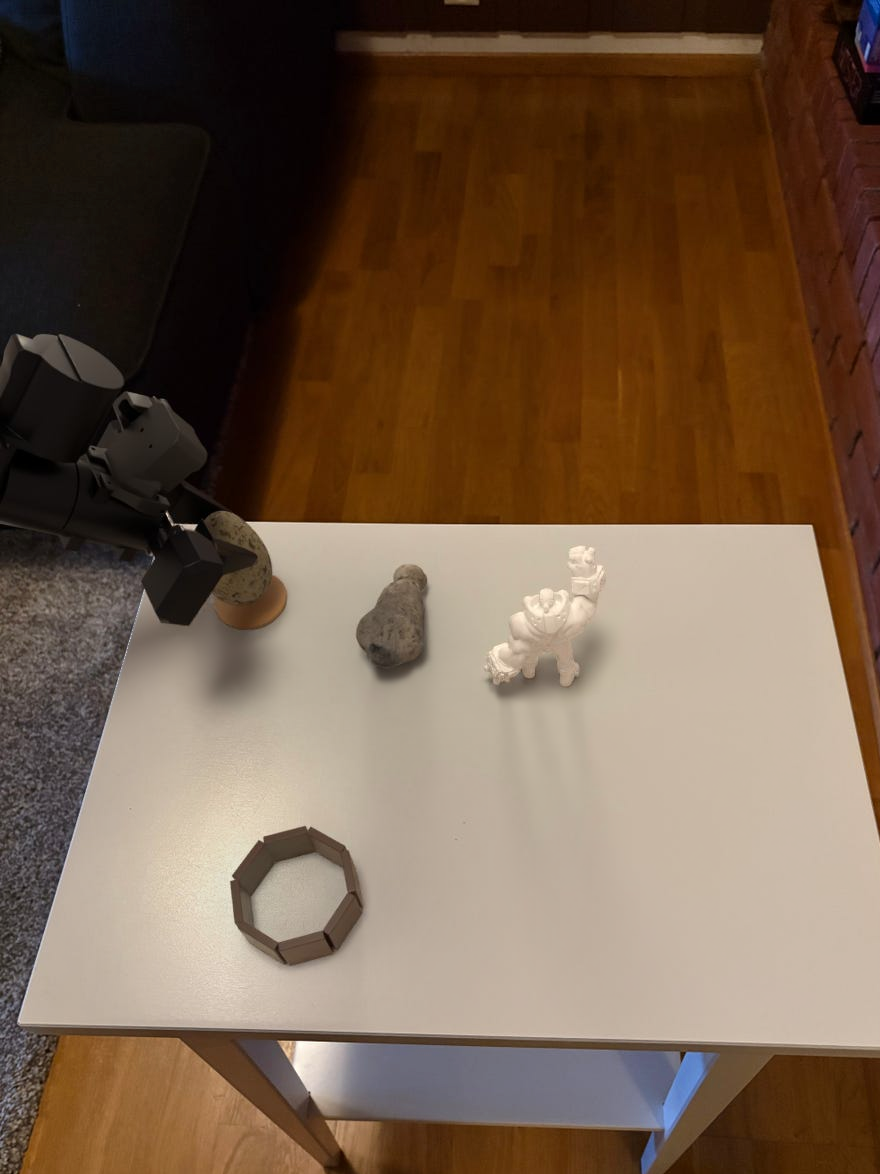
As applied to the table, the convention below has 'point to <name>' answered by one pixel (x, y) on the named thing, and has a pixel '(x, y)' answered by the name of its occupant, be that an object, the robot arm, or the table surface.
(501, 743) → the table surface
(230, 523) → the decorative egg
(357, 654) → the table surface
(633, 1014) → the table surface
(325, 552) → the table surface
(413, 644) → the stone
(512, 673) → the figurine
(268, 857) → the egg holder
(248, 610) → the coaster
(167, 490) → the robot arm
